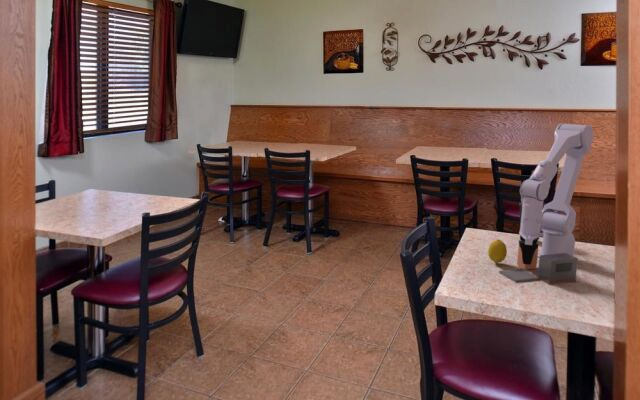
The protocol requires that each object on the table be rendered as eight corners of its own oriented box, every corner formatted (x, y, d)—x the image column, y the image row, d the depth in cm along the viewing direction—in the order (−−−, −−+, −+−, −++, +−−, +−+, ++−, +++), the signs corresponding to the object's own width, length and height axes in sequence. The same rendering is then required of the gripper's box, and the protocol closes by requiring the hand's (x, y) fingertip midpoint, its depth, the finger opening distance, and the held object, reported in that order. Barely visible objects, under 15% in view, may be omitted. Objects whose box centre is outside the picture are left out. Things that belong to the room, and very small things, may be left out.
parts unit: (562, 274, 154) (565, 252, 152) (576, 281, 149) (579, 258, 147) (536, 277, 152) (538, 254, 150) (549, 284, 146) (551, 261, 145)
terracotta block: (527, 264, 162) (530, 243, 161) (536, 268, 158) (538, 246, 157) (517, 265, 161) (519, 243, 160) (525, 269, 157) (527, 247, 156)
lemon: (506, 267, 160) (509, 242, 158) (488, 265, 161) (490, 241, 159) (504, 261, 165) (506, 237, 164) (486, 260, 166) (488, 236, 165)
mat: (522, 270, 157) (522, 268, 157) (539, 279, 150) (539, 277, 150) (499, 272, 155) (499, 270, 155) (515, 282, 148) (515, 280, 148)
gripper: (545, 225, 148) (540, 270, 151) (545, 214, 161) (541, 255, 164) (519, 223, 151) (515, 266, 154) (521, 212, 164) (517, 252, 167)
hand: (527, 260), depth 159 cm, fingers closed on terracotta block, 6 cm apart
